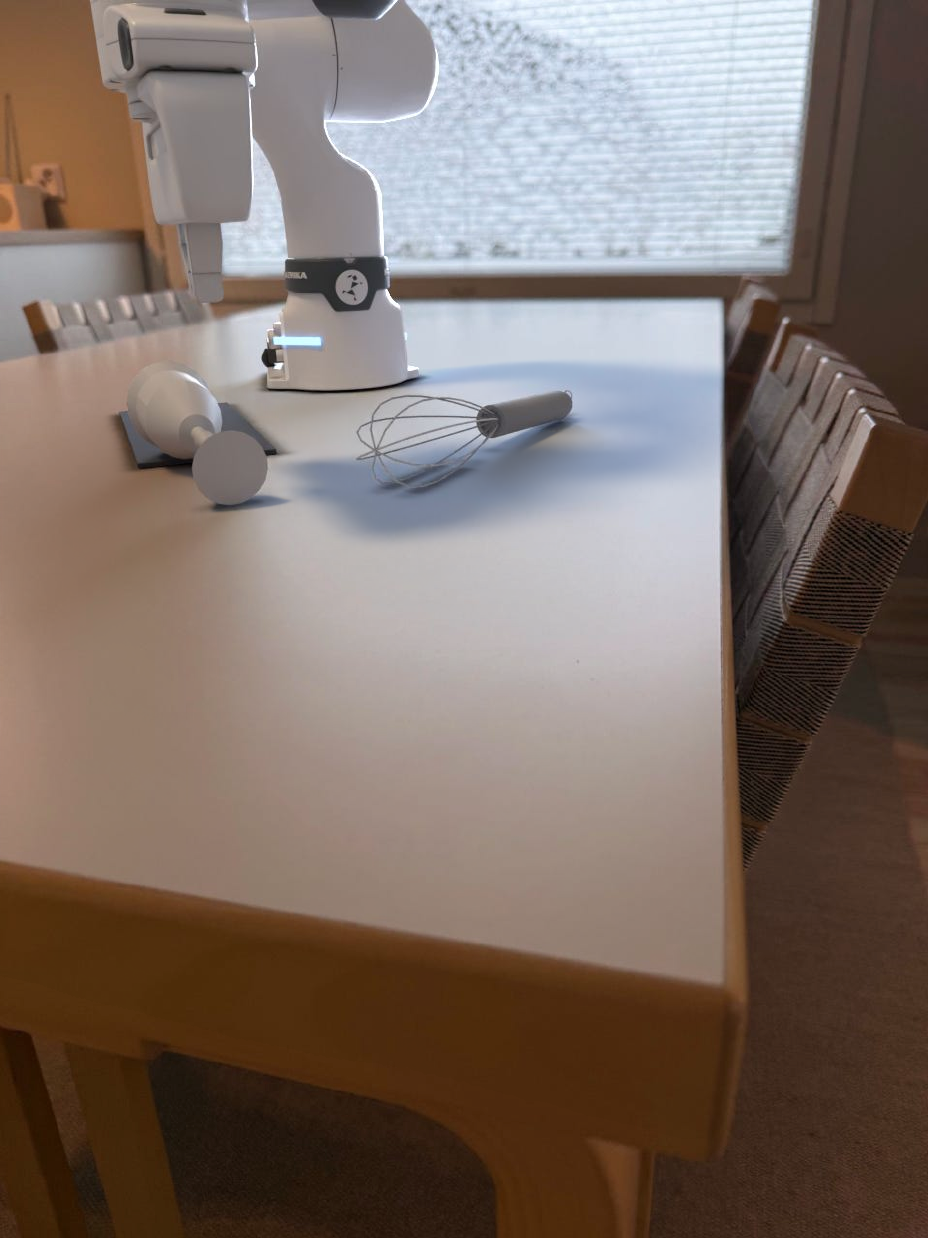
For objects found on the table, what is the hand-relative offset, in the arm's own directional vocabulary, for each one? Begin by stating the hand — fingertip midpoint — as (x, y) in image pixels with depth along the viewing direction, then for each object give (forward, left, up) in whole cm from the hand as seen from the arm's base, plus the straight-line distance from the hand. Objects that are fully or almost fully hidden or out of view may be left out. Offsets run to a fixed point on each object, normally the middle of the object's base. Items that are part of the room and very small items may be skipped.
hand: (207, 301), depth 60 cm
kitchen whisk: (-4, +21, -13) cm, 25 cm away
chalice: (+4, 0, -10) cm, 11 cm away
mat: (-24, 0, -13) cm, 27 cm away
